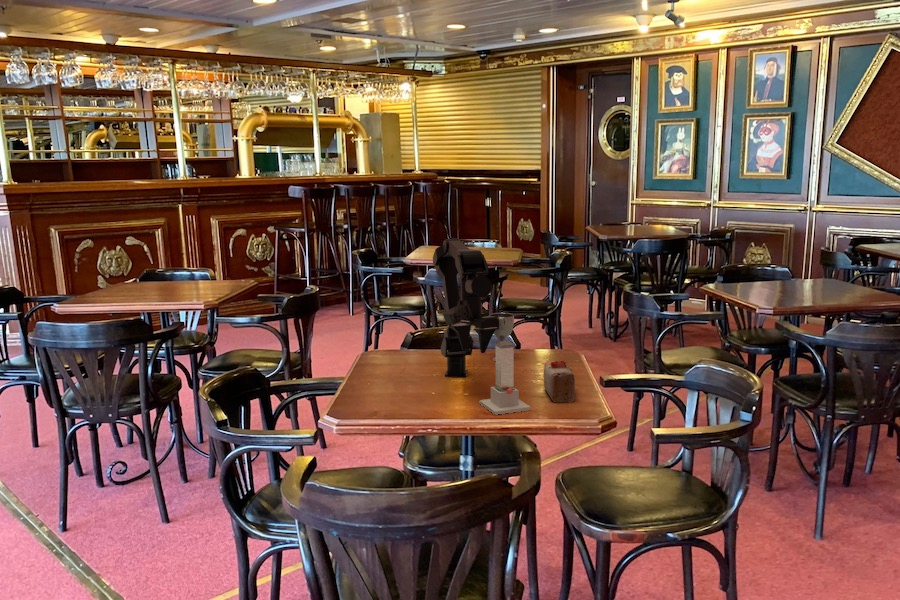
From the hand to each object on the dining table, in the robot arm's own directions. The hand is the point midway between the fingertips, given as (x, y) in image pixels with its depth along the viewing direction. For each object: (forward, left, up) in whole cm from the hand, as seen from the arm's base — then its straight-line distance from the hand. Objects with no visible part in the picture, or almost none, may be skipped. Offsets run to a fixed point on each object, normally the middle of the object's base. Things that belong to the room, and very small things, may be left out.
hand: (473, 351), depth 201 cm
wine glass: (-36, +6, -12) cm, 38 cm away
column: (+13, +9, -7) cm, 17 cm away
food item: (+1, +24, -12) cm, 27 cm away
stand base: (+13, +9, -12) cm, 20 cm away
